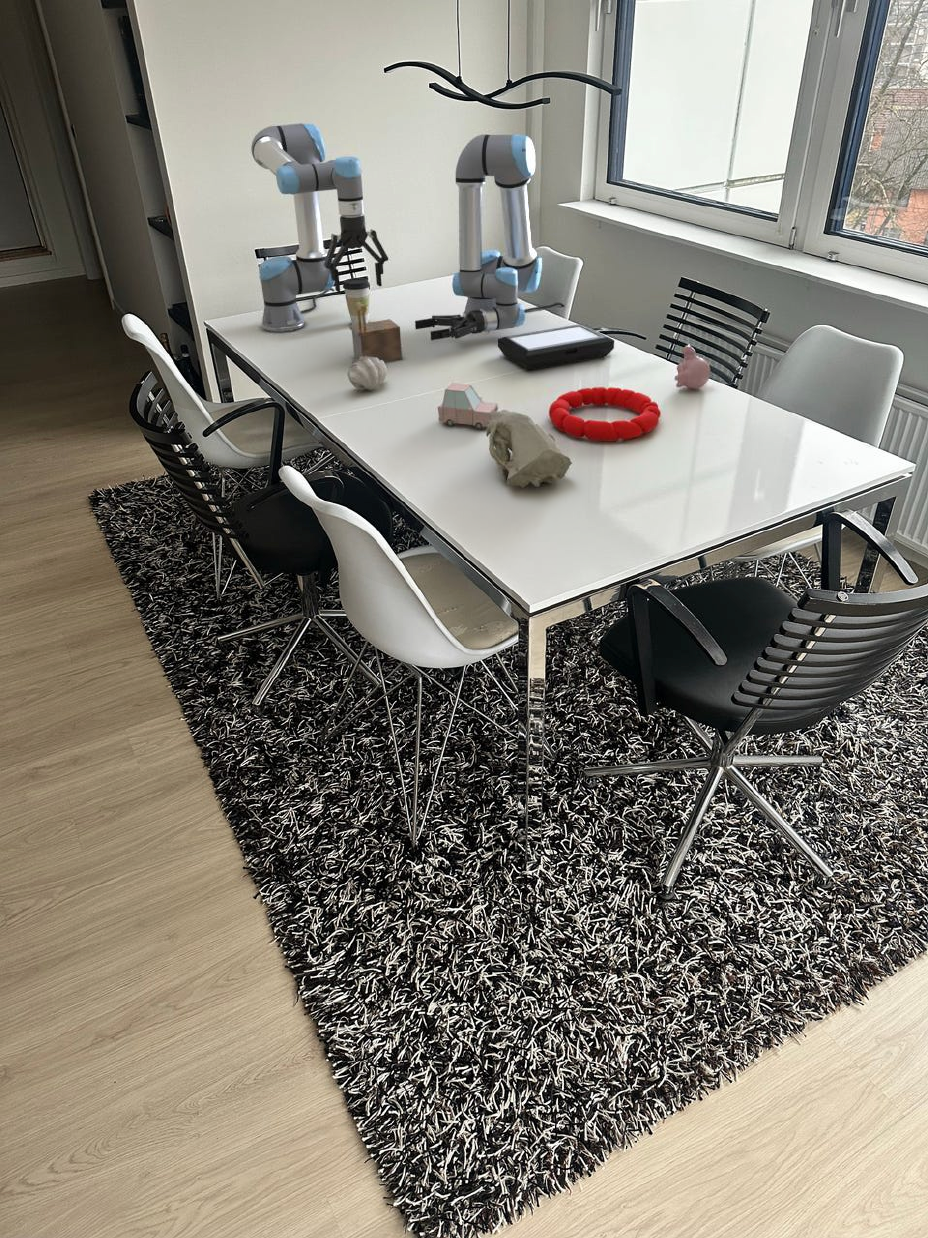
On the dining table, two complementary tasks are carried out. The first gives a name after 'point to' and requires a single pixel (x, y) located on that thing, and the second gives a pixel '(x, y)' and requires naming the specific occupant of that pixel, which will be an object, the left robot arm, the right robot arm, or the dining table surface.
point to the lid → (371, 324)
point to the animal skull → (525, 450)
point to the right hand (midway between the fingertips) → (423, 330)
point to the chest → (378, 346)
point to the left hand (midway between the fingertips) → (358, 288)
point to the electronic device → (555, 346)
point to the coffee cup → (357, 297)
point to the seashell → (367, 372)
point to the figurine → (692, 370)
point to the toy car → (465, 406)
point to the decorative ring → (604, 428)
